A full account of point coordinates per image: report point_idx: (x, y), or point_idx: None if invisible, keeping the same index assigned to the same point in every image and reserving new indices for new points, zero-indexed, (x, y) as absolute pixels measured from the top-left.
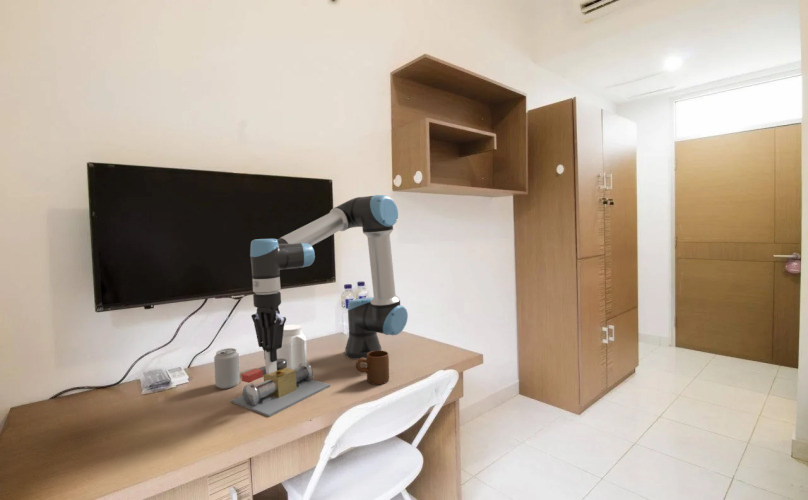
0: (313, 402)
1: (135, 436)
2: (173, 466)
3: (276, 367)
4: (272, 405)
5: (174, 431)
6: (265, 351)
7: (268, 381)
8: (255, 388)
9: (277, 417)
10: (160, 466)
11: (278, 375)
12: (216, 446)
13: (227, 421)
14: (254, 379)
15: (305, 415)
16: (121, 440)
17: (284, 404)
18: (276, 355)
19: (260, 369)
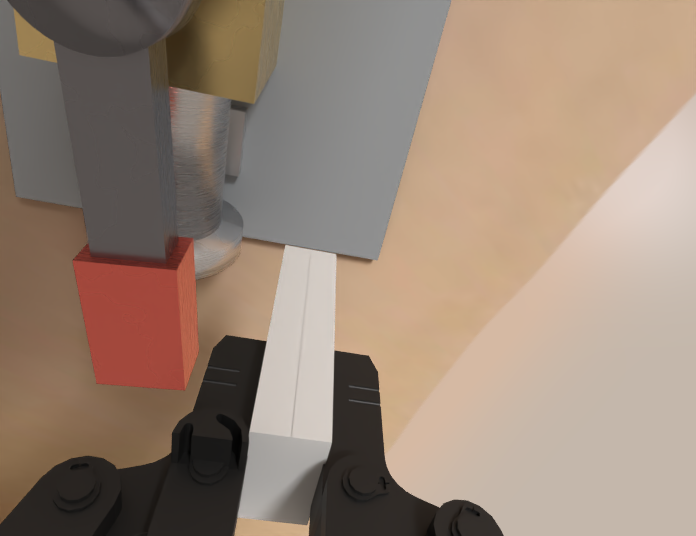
0: (544, 9)
1: (19, 484)
2: (308, 525)
3: (334, 274)
4: (318, 171)
5: (102, 437)
6: (252, 512)
7: (170, 112)
8: (206, 263)
9: (422, 244)
10: (274, 532)
11: (215, 53)
12: None
13: (219, 338)
14: (194, 315)
15: (564, 181)
16: (10, 504)
17: (382, 136)
18: (380, 413)
19: (118, 239)
